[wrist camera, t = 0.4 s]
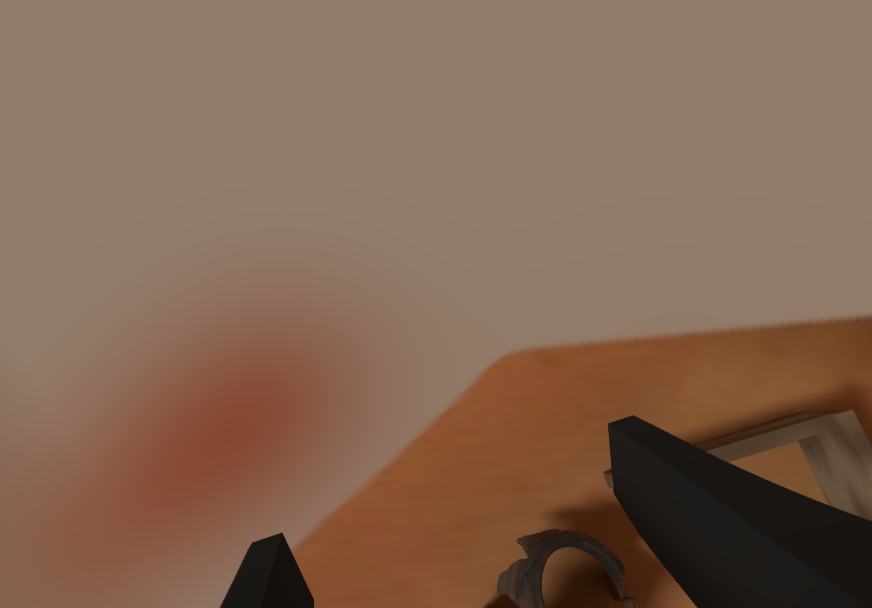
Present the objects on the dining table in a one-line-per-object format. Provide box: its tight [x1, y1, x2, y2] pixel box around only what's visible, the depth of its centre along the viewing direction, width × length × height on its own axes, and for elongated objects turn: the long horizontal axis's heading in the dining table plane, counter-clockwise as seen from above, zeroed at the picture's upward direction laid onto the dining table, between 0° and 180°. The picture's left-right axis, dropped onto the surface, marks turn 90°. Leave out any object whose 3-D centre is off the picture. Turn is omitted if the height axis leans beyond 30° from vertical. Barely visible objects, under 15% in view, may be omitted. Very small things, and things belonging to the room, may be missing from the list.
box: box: [603, 409, 872, 521], centre depth 31 cm, size 16×16×5 cm
